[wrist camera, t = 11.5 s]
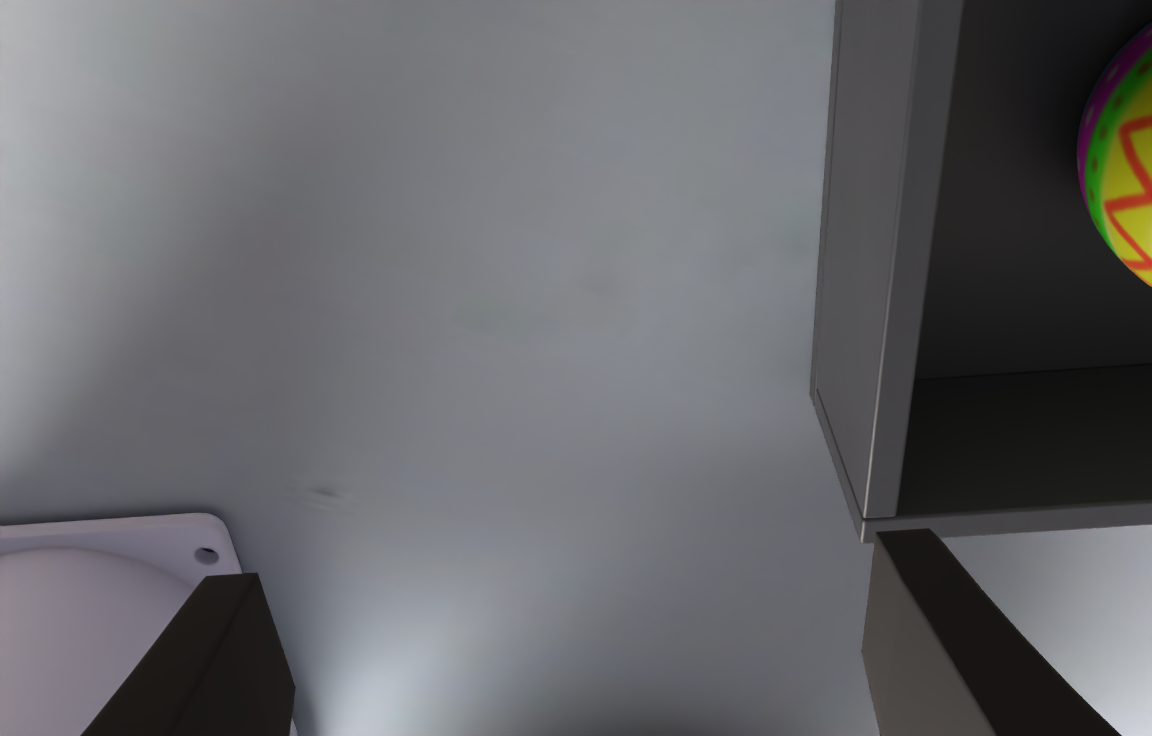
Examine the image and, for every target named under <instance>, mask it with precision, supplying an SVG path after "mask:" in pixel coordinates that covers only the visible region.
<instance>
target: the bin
mask: <svg viewBox="0 0 1152 736" xmlns="http://www.w3.org/2000/svg"><path fill="white" fill-rule="evenodd" d="M1151 22H1152V0H836V6H835V21H834V36H833V52H832V67H831V82H830V97H829V112H828V127H827V142H826V157H825V172H824V187H823V202H822V217H821V232H820V247H819V262H818V277H817V292H816V308H815V323H814V338H813V353H812V368H811V383H810V397H811V400H812V402H813V405H814V407H815V411H816V414H817V417H818V420H819V423H820V425H821V428H822V431H823V434H824V437H825V440H826V443H827V446H828V449H829V452H830V455H831V458H832V461H833V464H834V467H835V470H836V473H837V476H838V479H839V481H840V484H841V487H842V490H843V493H844V496H845V499H846V502H847V505H848V508H849V511H850V514H851V517H852V520H853V523H854V526H855V529H856V532H857V535H858V538H859V540H860V542H861V543H875V534H876V532H879V531H894V530H909V529H925V528H929V529H930V530H932V531H933V532H934V533H935V534H936V535H937V536H938V537H939V538H955V537H970V536H985V535H1000V534H1016V533H1031V532H1046V531H1061V530H1076V529H1092V528H1107V527H1122V526H1137V525H1152V287H1151V286H1149V285H1148V284H1147V283H1145V282H1144V281H1143V280H1142V279H1141V278H1139V277H1138V276H1137V275H1136V274H1135V273H1133V272H1132V271H1131V270H1130V269H1129V268H1128V267H1127V266H1126V265H1125V264H1124V263H1123V262H1122V261H1121V260H1120V259H1119V258H1118V257H1117V256H1116V254H1115V253H1114V252H1113V251H1112V250H1111V248H1110V247H1109V246H1108V244H1107V243H1106V242H1105V240H1104V239H1103V237H1102V236H1101V234H1100V233H1099V231H1098V229H1097V228H1096V226H1095V224H1094V222H1093V220H1092V218H1091V216H1090V214H1089V212H1088V209H1087V207H1086V204H1085V201H1084V198H1083V195H1082V191H1081V188H1080V183H1079V178H1078V170H1077V140H1078V132H1079V127H1080V122H1081V118H1082V115H1083V111H1084V108H1085V105H1086V103H1087V100H1088V98H1089V95H1090V93H1091V91H1092V89H1093V87H1094V85H1095V83H1096V81H1097V80H1098V78H1099V76H1100V75H1101V73H1102V72H1103V70H1104V69H1105V67H1106V66H1107V64H1108V63H1109V62H1110V60H1111V59H1112V58H1113V57H1114V55H1115V54H1116V53H1117V52H1118V51H1119V50H1120V49H1121V48H1122V47H1123V46H1124V45H1125V44H1126V43H1127V42H1128V41H1129V40H1130V39H1131V38H1132V37H1133V36H1134V35H1135V34H1136V33H1138V32H1139V31H1140V30H1141V29H1142V28H1144V27H1145V26H1146V25H1148V24H1149V23H1151Z"/></svg>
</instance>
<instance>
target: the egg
mask: <svg viewBox="0 0 1152 736" xmlns="http://www.w3.org/2000/svg"><path fill="white" fill-rule="evenodd" d="M1077 170H1078V178H1079V183H1080V188H1081V191H1082V195H1083V198H1084V201H1085V204H1086V207H1087V209H1088V212H1089V214H1090V216H1091V218H1092V220H1093V222H1094V224H1095V226H1096V228H1097V229H1098V231H1099V233H1100V234H1101V236H1102V237H1103V239H1104V240H1105V242H1106V243H1107V244H1108V246H1109V247H1110V248H1111V250H1112V251H1113V252H1114V253H1115V254H1116V256H1117V257H1118V258H1119V259H1120V260H1121V261H1122V262H1123V263H1124V264H1125V265H1126V266H1127V267H1128V268H1129V269H1130V270H1131V271H1132V272H1133V273H1135V274H1136V275H1137V276H1138V277H1139V278H1141V279H1142V280H1143V281H1144V282H1145V283H1147V284H1148V285H1149V286H1151V287H1152V22H1151V23H1149V24H1148V25H1146V26H1145V27H1144V28H1142V29H1141V30H1140V31H1139V32H1138V33H1136V34H1135V35H1134V36H1133V37H1132V38H1131V39H1130V40H1129V41H1128V42H1127V43H1126V44H1125V45H1124V46H1123V47H1122V48H1121V49H1120V50H1119V51H1118V52H1117V53H1116V54H1115V55H1114V57H1113V58H1112V59H1111V60H1110V62H1109V63H1108V64H1107V66H1106V67H1105V69H1104V70H1103V72H1102V73H1101V75H1100V76H1099V78H1098V80H1097V81H1096V83H1095V85H1094V87H1093V89H1092V91H1091V93H1090V95H1089V98H1088V100H1087V103H1086V105H1085V108H1084V111H1083V115H1082V118H1081V122H1080V127H1079V132H1078V140H1077Z"/></svg>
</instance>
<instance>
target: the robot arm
mask: <svg viewBox="0 0 1152 736" xmlns="http://www.w3.org/2000/svg"><path fill="white" fill-rule="evenodd" d="M202 548H209V549H212V550H213V551H215V553H213V552H207V551H205V550H203V549H202ZM861 652H862V656H863V661H864V665H865V670H866V675H867V679H868V684H869V689H870V693H871V698H872V702H873V706H874V710H875V715H876V719H877V723H878V728H879V732H880V736H1122V735H1120V734H1119V733H1118V732H1117V731H1116V730H1115V729H1114V728H1113V727H1112V726H1111V725H1110V724H1109V723H1108V722H1107V721H1106V720H1105V719H1104V718H1103V717H1102V716H1101V715H1100V714H1099V713H1098V712H1096V711H1095V710H1094V709H1093V708H1092V707H1091V706H1090V705H1089V704H1088V703H1087V702H1086V701H1085V700H1084V699H1083V698H1082V697H1081V696H1080V695H1079V694H1078V693H1077V692H1076V691H1075V690H1074V689H1073V688H1072V687H1071V686H1070V685H1069V684H1068V683H1067V682H1066V681H1065V679H1064V678H1063V677H1062V676H1061V675H1060V674H1059V673H1058V672H1057V671H1056V670H1055V669H1054V668H1053V667H1052V666H1051V665H1050V664H1049V663H1048V662H1047V660H1046V659H1045V658H1044V657H1043V656H1042V655H1041V654H1040V653H1039V652H1038V651H1037V650H1036V649H1035V648H1034V647H1033V646H1032V645H1031V644H1030V642H1029V641H1028V640H1027V639H1026V638H1025V637H1024V636H1023V635H1022V634H1021V633H1020V632H1019V631H1018V629H1017V628H1016V627H1015V626H1014V625H1013V624H1012V623H1011V622H1010V621H1009V619H1008V618H1007V617H1006V616H1005V615H1004V614H1003V613H1002V611H1001V610H1000V609H999V608H998V607H997V606H996V605H995V603H994V602H993V601H992V600H991V599H990V598H989V597H988V595H987V594H986V593H985V592H984V591H983V590H982V589H981V587H980V586H979V585H978V584H977V583H976V581H975V580H974V579H973V578H972V577H971V576H970V574H969V573H968V572H967V571H966V570H965V568H964V567H963V566H962V565H961V564H960V562H959V561H958V560H957V559H956V558H955V556H954V555H953V554H952V553H951V552H950V550H949V549H948V548H947V547H946V545H945V544H944V543H943V542H942V541H941V539H940V538H939V537H938V536H937V535H936V534H935V533H934V532H933V531H932V530H930V529H929V528H925V529H909V530H894V531H879V532H876V534H875V543H874V551H873V559H872V568H871V576H870V584H869V593H868V601H867V609H866V618H865V626H864V634H863V643H862V651H861ZM295 688H296V687H295V684H294V681H293V678H292V675H291V672H290V669H289V666H288V663H287V660H286V657H285V654H284V651H283V648H282V645H281V642H280V639H279V636H278V633H277V630H276V627H275V624H274V621H273V618H272V615H271V612H270V609H269V606H268V603H267V600H266V597H265V594H264V591H263V588H262V585H261V582H260V579H259V576H258V573H242V570H241V567H240V564H239V562H238V559H237V556H236V553H235V550H234V547H233V544H232V541H231V538H230V535H229V532H228V529H227V527H226V526H225V524H224V522H223V521H222V520H220V519H219V518H218V517H216V516H214V515H211V514H208V513H187V514H172V515H157V516H143V517H128V518H113V519H98V520H83V521H68V522H53V523H38V524H23V525H9V526H0V736H298V734H297V731H296V728H295V725H294V722H293V719H292V712H293V704H294V696H295Z"/></svg>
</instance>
